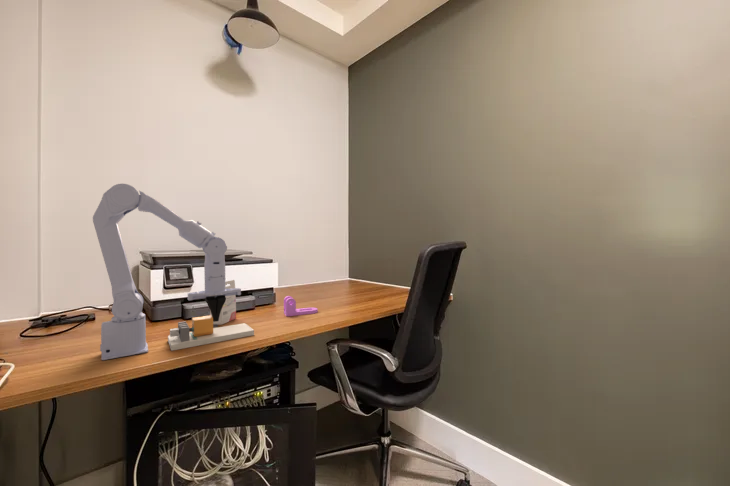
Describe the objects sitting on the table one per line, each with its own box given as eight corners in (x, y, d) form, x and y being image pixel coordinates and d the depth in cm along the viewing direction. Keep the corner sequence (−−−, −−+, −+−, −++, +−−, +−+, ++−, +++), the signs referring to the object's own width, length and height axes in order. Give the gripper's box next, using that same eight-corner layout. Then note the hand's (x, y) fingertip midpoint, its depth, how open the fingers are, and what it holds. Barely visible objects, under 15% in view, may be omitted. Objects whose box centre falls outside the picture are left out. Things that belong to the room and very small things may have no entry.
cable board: (171, 350, 83) (170, 331, 83) (167, 340, 91) (167, 322, 91) (254, 334, 96) (253, 318, 96) (244, 327, 104) (244, 311, 104)
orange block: (194, 336, 89) (194, 320, 89) (192, 333, 92) (191, 317, 92) (213, 333, 92) (213, 317, 92) (210, 330, 95) (210, 315, 95)
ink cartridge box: (224, 317, 117) (224, 279, 117) (236, 318, 116) (236, 279, 116) (209, 324, 109) (208, 282, 108) (221, 324, 108) (221, 282, 107)
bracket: (286, 316, 119) (286, 298, 119) (283, 313, 124) (283, 296, 124) (319, 313, 124) (319, 296, 124) (315, 310, 130) (315, 293, 129)
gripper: (189, 279, 87) (190, 328, 87) (243, 275, 95) (243, 319, 95) (186, 277, 92) (187, 322, 92) (237, 273, 101) (237, 315, 101)
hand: (215, 320), depth 94 cm, fingers closed
